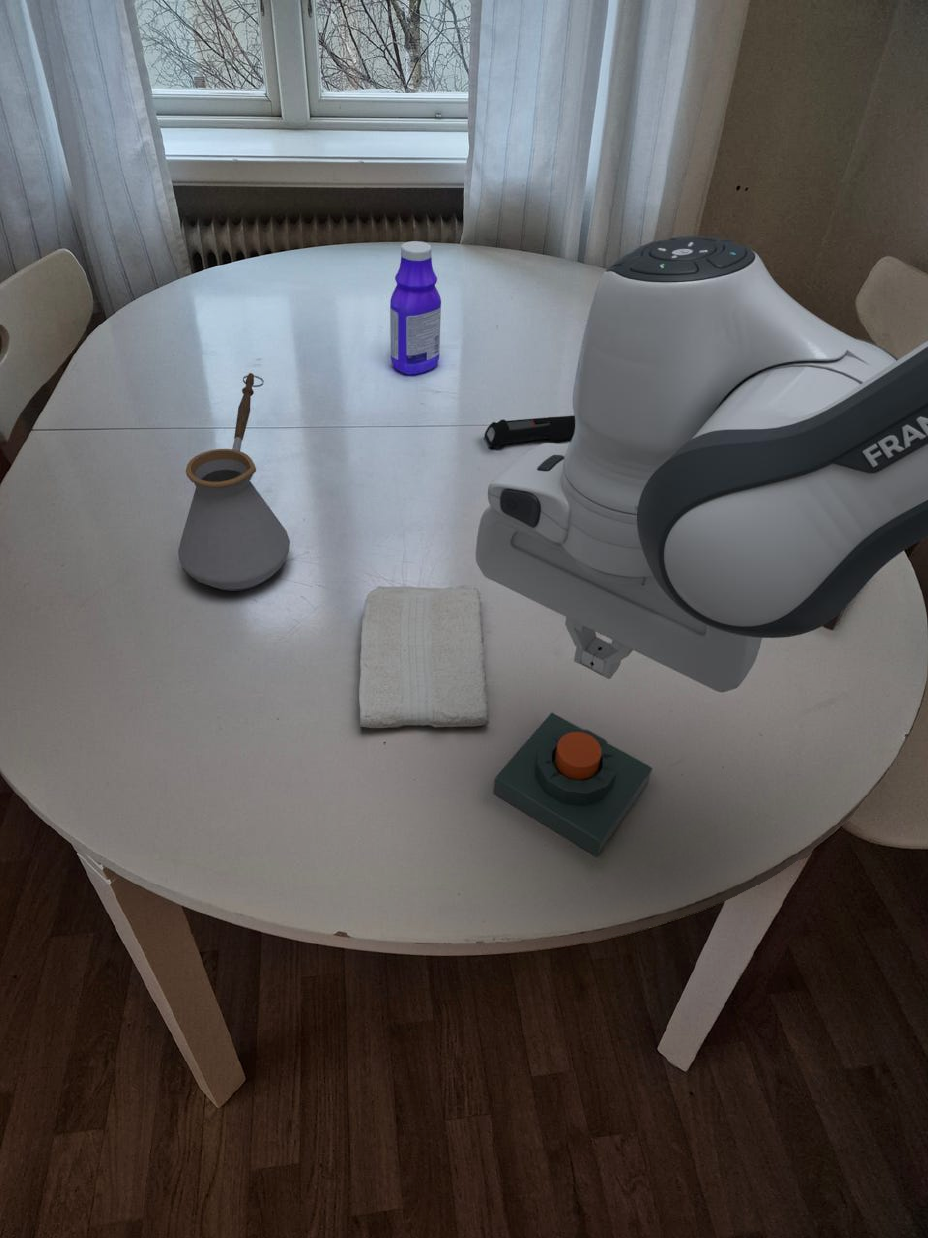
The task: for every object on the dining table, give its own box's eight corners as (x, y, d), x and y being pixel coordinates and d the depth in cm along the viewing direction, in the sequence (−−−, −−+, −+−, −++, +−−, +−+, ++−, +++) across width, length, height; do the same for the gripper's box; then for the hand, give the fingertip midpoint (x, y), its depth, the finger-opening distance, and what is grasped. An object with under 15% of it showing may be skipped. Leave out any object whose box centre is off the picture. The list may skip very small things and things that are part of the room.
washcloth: (478, 599, 90) (479, 576, 88) (492, 733, 77) (494, 710, 75) (364, 600, 89) (363, 577, 87) (358, 736, 76) (357, 713, 74)
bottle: (423, 352, 130) (424, 233, 118) (446, 367, 127) (449, 246, 115) (384, 365, 127) (380, 244, 115) (407, 380, 124) (406, 258, 112)
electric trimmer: (603, 441, 114) (607, 420, 112) (490, 451, 111) (492, 429, 109) (593, 427, 117) (597, 406, 115) (483, 436, 114) (484, 414, 111)
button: (606, 759, 71) (609, 745, 70) (584, 787, 69) (587, 774, 68) (569, 738, 72) (571, 724, 71) (546, 765, 70) (548, 752, 69)
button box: (648, 783, 74) (657, 754, 71) (596, 857, 68) (603, 829, 66) (549, 727, 78) (553, 698, 75) (493, 793, 72) (495, 764, 70)
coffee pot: (280, 606, 88) (263, 484, 78) (169, 600, 88) (136, 477, 78) (316, 487, 104) (305, 372, 93) (221, 482, 104) (200, 366, 94)
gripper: (809, 552, 51) (747, 706, 60) (520, 435, 59) (506, 586, 69) (769, 609, 47) (710, 763, 57) (467, 476, 55) (459, 630, 65)
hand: (596, 665), depth 63 cm, fingers closed
